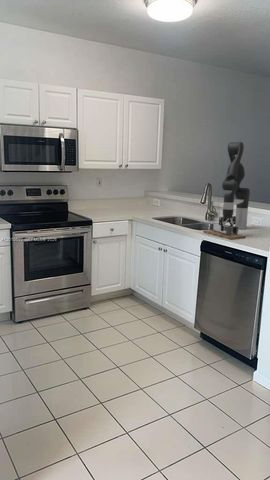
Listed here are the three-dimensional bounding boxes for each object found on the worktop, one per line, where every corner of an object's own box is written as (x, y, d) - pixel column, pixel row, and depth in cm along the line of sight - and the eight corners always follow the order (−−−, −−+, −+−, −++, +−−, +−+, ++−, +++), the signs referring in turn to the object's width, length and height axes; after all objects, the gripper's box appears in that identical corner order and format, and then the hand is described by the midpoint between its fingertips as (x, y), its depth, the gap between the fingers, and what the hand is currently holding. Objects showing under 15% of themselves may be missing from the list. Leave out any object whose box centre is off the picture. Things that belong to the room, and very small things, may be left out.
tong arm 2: (215, 229, 294) (216, 223, 293) (217, 229, 295) (217, 223, 294) (236, 233, 279) (236, 227, 278) (237, 233, 280) (238, 226, 279)
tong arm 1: (212, 230, 293) (213, 223, 292) (214, 230, 294) (215, 223, 293) (228, 234, 275) (229, 227, 274) (230, 234, 276) (231, 227, 275)
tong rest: (203, 232, 296) (203, 222, 294) (217, 231, 302) (217, 221, 301) (231, 239, 270) (231, 229, 269) (245, 238, 277) (246, 227, 276)
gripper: (224, 209, 273) (222, 232, 276) (239, 208, 280) (237, 230, 283) (217, 208, 279) (215, 230, 282) (231, 207, 286) (230, 229, 290)
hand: (226, 230), depth 283 cm, fingers open, 8 cm apart
